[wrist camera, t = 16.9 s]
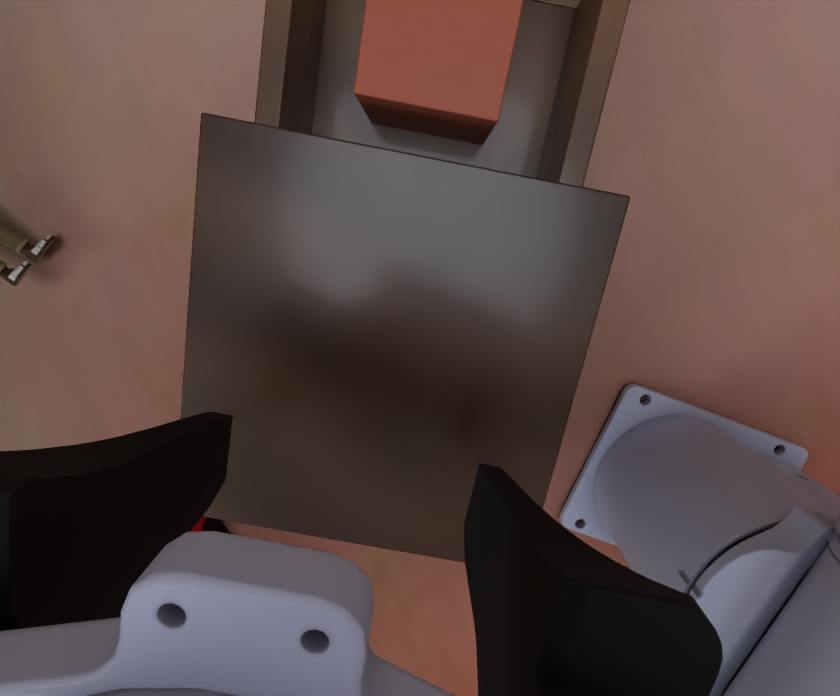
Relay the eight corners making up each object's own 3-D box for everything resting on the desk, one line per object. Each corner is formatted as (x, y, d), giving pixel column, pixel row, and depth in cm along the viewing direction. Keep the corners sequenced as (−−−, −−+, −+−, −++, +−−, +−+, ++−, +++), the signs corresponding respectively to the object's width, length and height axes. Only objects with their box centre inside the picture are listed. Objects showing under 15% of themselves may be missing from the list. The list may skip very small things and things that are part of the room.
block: (509, 18, 18) (533, -49, 13) (483, 145, 19) (498, 121, 14) (390, -7, 18) (376, -81, 13) (370, 123, 19) (353, 93, 14)
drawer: (326, -267, 17) (281, -475, 12) (658, -195, 17) (752, -368, 12) (272, 232, 21) (222, 234, 16) (539, 283, 21) (573, 301, 16)
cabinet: (273, 147, 21) (200, 111, 14) (568, 205, 21) (631, 196, 14) (243, 433, 24) (173, 512, 17) (499, 479, 24) (525, 574, 18)
